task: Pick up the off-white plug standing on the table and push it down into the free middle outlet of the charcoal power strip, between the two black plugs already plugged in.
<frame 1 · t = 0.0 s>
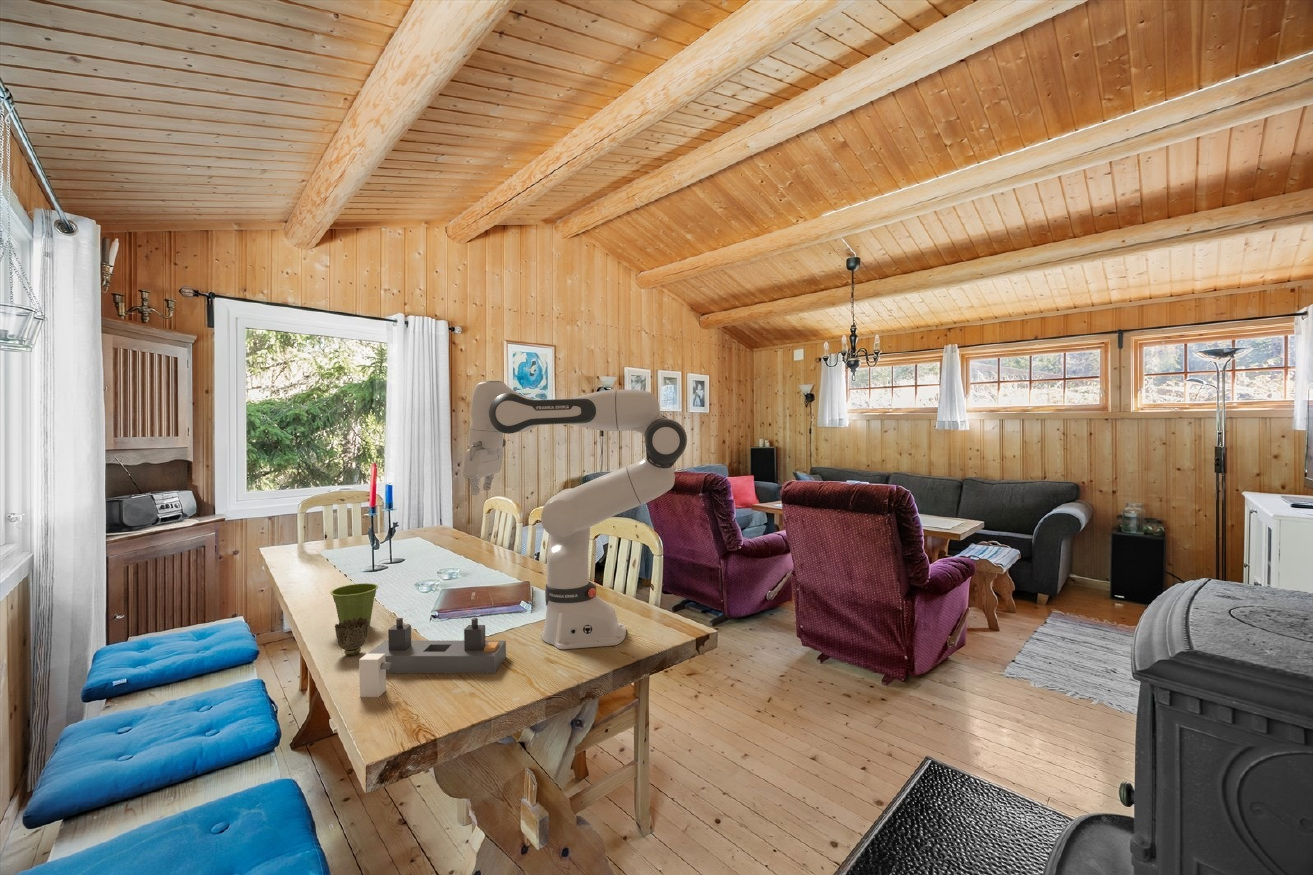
hand: (481, 492, 148), 39 cm above the table, tool pointing down, fingers open, 8 cm apart
plant pot: (355, 629, 155), on the table
power strip: (437, 664, 132), on the table
cup: (352, 654, 138), on the table
plug: (373, 693, 118), on the table
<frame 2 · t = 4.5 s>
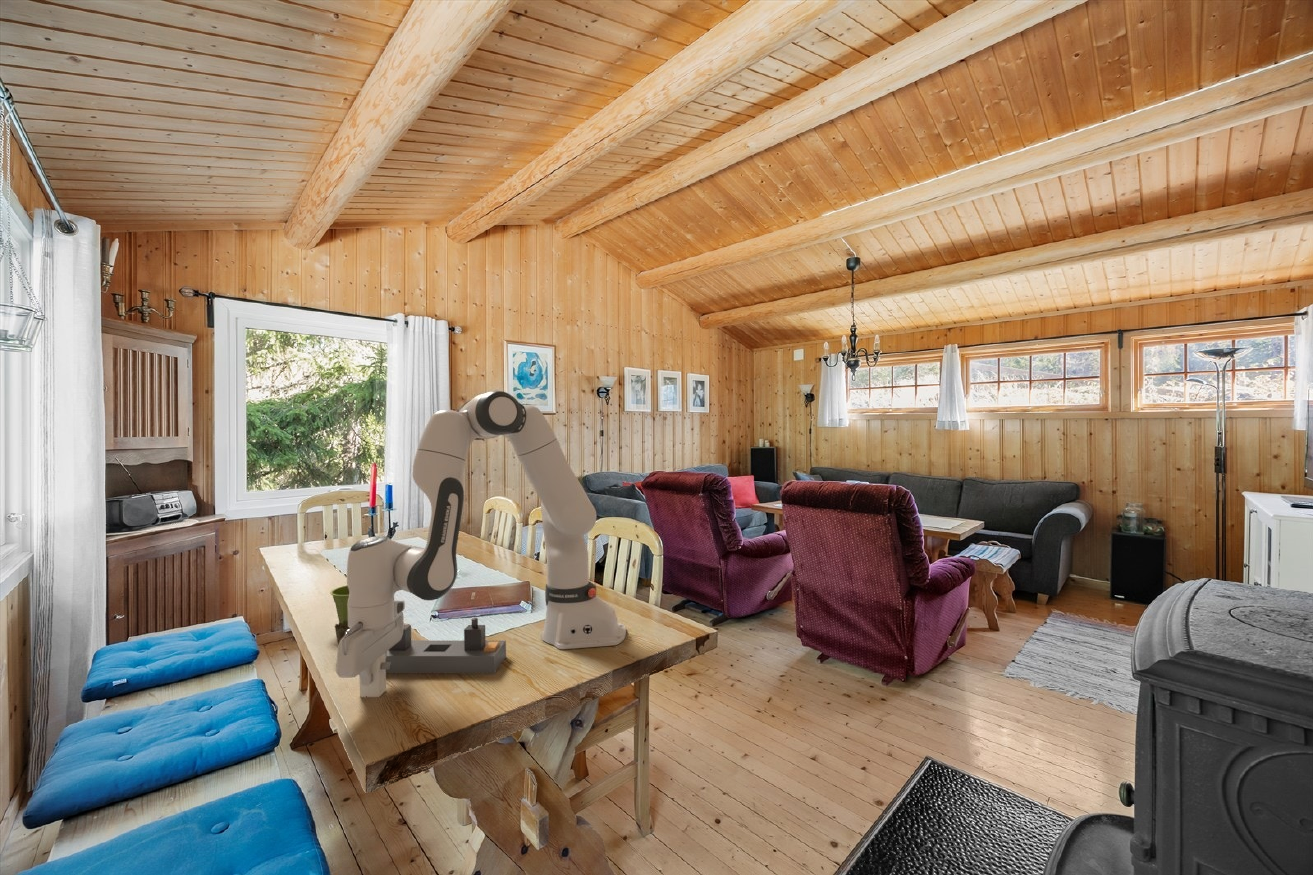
hand: (372, 679, 118), 3 cm above the table, tool pointing down, fingers closed on plug, 3 cm apart
plug: (373, 693, 118), on the table, touching gripper
everything else where it was.
when the fingers open (5 cm above the table, at t = 9.4 s): plug stays where it is, resting on power strip.
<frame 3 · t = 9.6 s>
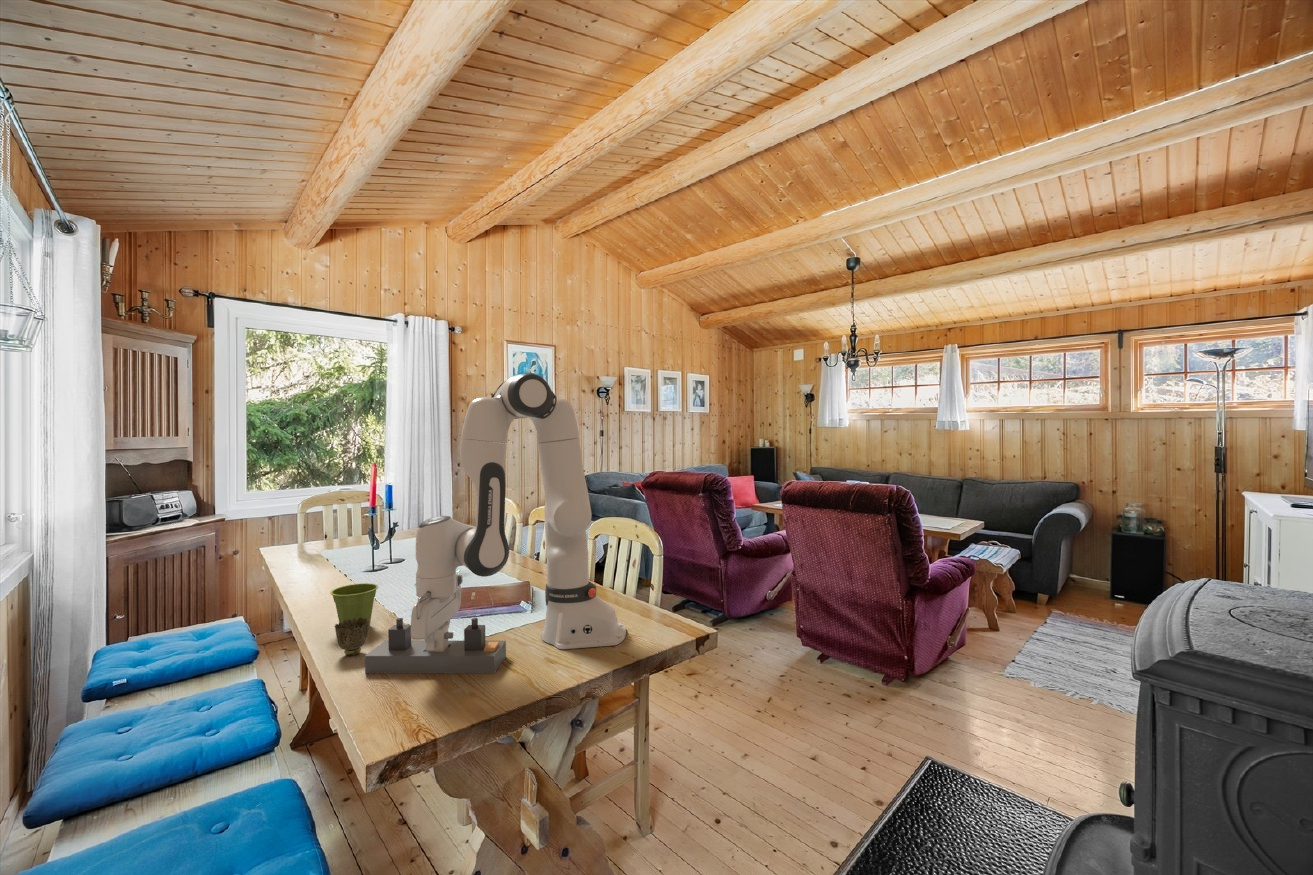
hand: (437, 643, 131), 5 cm above the table, tool pointing down, fingers open, 5 cm apart
plug: (437, 660, 132), point 1 cm above the table, touching power strip
everything else where it was.
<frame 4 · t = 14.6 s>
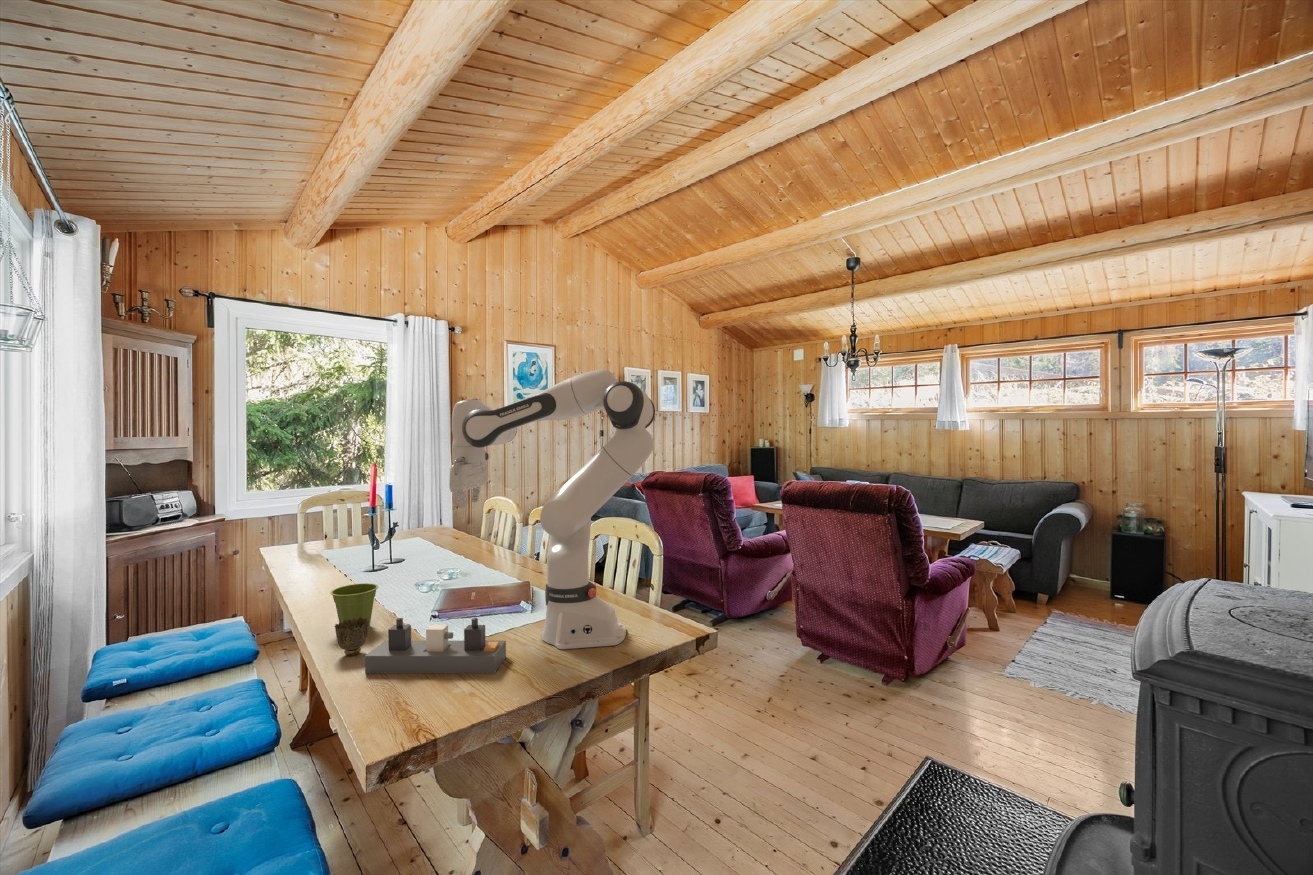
hand: (469, 504, 159), 34 cm above the table, tool pointing down, fingers open, 8 cm apart
nothing on the table moved.
at the end: plug 0.1 cm off-centre on the power strip, point 1.0 cm above the power strip's base; plug tilted 0°; the gripper is holding nothing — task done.
